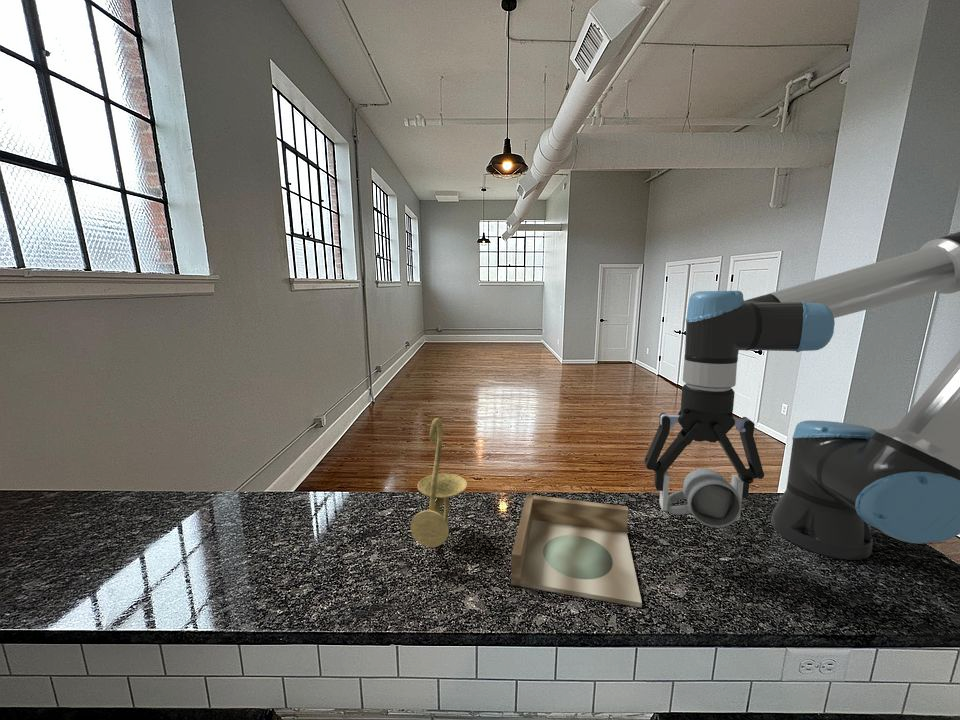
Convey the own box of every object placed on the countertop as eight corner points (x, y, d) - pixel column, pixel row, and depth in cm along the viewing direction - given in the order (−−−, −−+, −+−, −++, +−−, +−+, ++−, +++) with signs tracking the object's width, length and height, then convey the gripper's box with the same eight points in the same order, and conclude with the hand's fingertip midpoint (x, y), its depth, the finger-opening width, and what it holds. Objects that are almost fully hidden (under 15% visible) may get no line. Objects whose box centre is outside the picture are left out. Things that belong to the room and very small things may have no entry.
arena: (625, 532, 79) (627, 506, 78) (641, 607, 60) (644, 575, 59) (525, 518, 84) (526, 494, 83) (510, 584, 64) (511, 554, 64)
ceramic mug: (724, 505, 71) (727, 464, 70) (741, 530, 63) (743, 485, 62) (660, 499, 74) (661, 460, 73) (668, 523, 66) (670, 480, 65)
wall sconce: (456, 569, 68) (456, 430, 64) (403, 563, 69) (400, 426, 65) (470, 523, 82) (471, 406, 78) (426, 519, 83) (424, 404, 79)
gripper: (776, 383, 66) (763, 506, 69) (630, 378, 71) (625, 493, 75) (801, 394, 59) (785, 531, 62) (636, 388, 64) (630, 514, 67)
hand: (698, 510), depth 68 cm, fingers closed on ceramic mug, 10 cm apart
